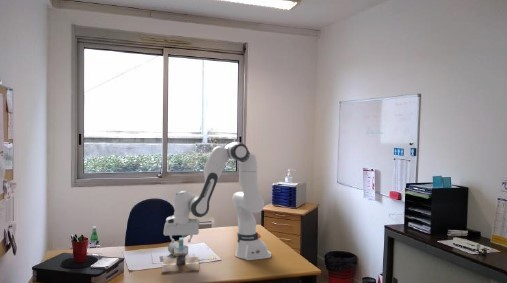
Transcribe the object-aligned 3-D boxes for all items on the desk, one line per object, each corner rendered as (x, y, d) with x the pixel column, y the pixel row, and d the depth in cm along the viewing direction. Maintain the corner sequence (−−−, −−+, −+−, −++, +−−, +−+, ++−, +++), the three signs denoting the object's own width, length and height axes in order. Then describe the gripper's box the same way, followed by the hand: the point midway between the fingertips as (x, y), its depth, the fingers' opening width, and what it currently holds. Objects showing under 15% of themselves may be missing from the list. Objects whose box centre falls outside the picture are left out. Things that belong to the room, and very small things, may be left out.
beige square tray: (198, 258, 222) (198, 247, 221) (199, 272, 202) (199, 259, 202) (163, 260, 218) (164, 248, 218) (161, 273, 198) (161, 261, 198)
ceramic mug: (171, 258, 222) (172, 245, 222) (167, 254, 229) (167, 241, 229) (188, 255, 227) (188, 243, 227) (183, 251, 234) (184, 239, 234)
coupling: (188, 248, 218) (188, 237, 217) (188, 257, 203) (188, 245, 203) (174, 249, 216) (174, 238, 216) (173, 258, 202) (173, 246, 201)
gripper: (199, 217, 220) (198, 240, 220) (164, 217, 216) (163, 241, 217) (199, 219, 214) (199, 243, 214) (163, 220, 210) (163, 244, 210)
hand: (181, 242), depth 215 cm, fingers open, 8 cm apart
